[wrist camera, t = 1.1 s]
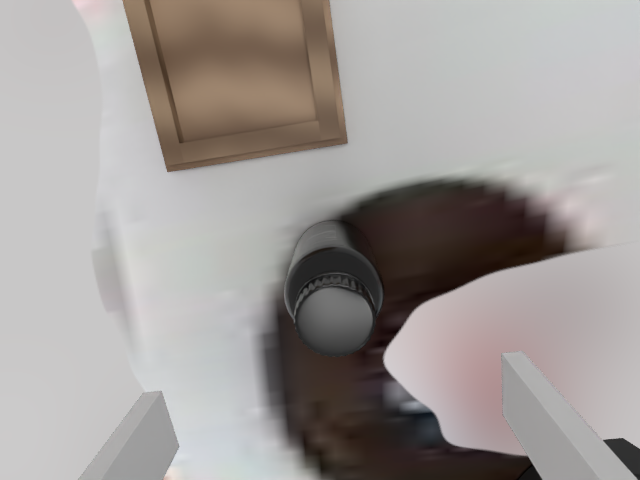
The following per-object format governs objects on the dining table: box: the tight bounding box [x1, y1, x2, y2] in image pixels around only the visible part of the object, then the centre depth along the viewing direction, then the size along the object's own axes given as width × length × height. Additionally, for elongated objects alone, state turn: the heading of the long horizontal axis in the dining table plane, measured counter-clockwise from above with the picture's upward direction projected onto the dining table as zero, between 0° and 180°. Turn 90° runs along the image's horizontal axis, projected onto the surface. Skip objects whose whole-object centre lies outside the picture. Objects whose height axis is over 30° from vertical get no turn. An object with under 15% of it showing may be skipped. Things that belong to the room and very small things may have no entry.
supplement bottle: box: [284, 220, 384, 357], centre depth 26 cm, size 7×7×12 cm
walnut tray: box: [123, 0, 348, 172], centre depth 27 cm, size 15×15×2 cm
